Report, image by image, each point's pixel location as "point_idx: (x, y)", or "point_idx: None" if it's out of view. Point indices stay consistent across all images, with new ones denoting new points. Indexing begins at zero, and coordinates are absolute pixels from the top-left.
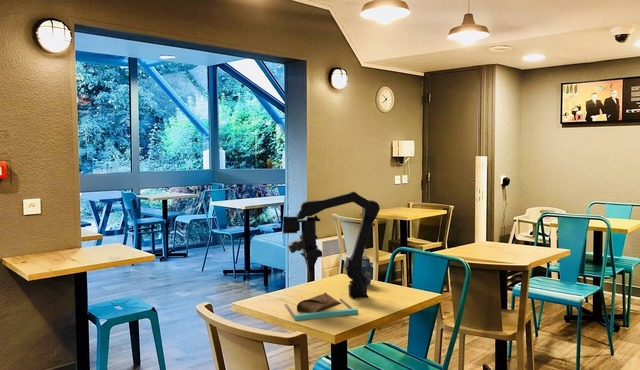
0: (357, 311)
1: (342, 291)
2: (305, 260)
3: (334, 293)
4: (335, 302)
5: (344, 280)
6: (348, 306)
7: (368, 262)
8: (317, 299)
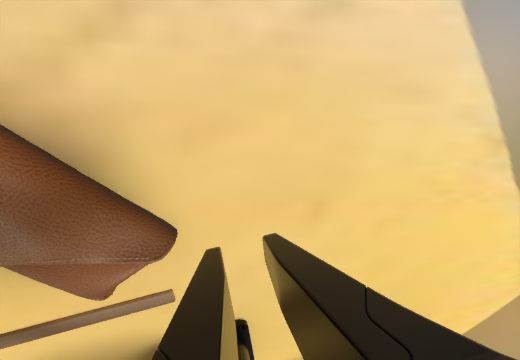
0: None
1: None
2: (388, 331)
3: None
4: (55, 287)
5: (467, 289)
6: (8, 338)
7: None
8: None
